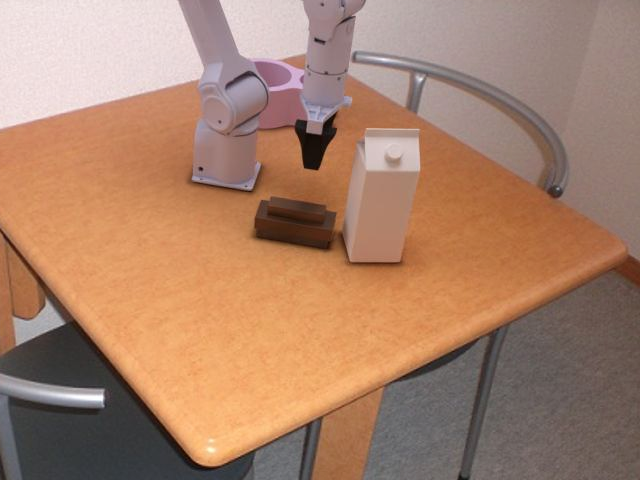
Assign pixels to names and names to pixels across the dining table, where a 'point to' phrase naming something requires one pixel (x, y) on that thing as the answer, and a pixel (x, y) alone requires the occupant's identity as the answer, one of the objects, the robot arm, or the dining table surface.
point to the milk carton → (381, 194)
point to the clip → (281, 93)
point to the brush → (295, 222)
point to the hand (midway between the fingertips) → (315, 154)
